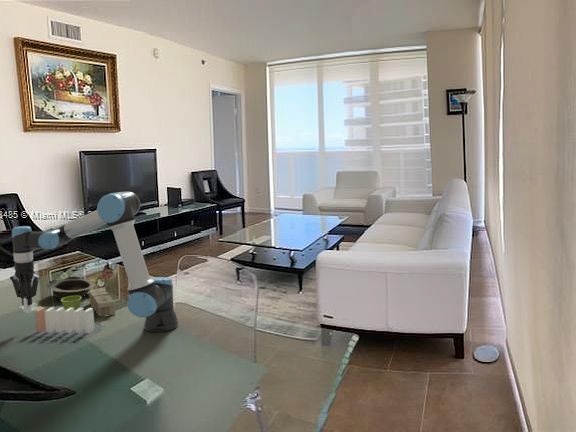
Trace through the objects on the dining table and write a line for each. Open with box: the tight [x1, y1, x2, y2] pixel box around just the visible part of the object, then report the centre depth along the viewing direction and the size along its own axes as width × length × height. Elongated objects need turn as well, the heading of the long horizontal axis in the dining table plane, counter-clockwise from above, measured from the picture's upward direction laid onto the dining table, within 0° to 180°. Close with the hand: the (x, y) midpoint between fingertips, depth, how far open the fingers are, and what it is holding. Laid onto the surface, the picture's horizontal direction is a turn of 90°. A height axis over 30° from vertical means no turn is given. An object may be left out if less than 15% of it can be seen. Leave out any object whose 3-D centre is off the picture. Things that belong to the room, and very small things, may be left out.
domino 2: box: [45, 306, 56, 333], centre depth 213 cm, size 2×5×10 cm, turn 177°
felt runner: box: [25, 324, 105, 338], centre depth 213 cm, size 30×14×1 cm, turn 87°
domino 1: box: [34, 306, 47, 332], centre depth 213 cm, size 2×5×10 cm, turn 177°
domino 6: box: [84, 307, 95, 333], centre depth 212 cm, size 2×5×10 cm, turn 177°
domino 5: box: [74, 307, 85, 333], centre depth 212 cm, size 2×5×10 cm, turn 176°
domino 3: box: [54, 307, 66, 333], centre depth 212 cm, size 2×5×10 cm, turn 177°
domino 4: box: [64, 308, 75, 333], centre depth 212 cm, size 2×5×10 cm, turn 177°
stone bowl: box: [46, 276, 97, 300], centre depth 266 cm, size 25×25×9 cm
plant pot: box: [60, 296, 83, 311], centre depth 234 cm, size 9×9×9 cm
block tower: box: [88, 287, 116, 317], centre depth 243 cm, size 8×8×29 cm
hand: (27, 311), depth 213 cm, fingers closed
